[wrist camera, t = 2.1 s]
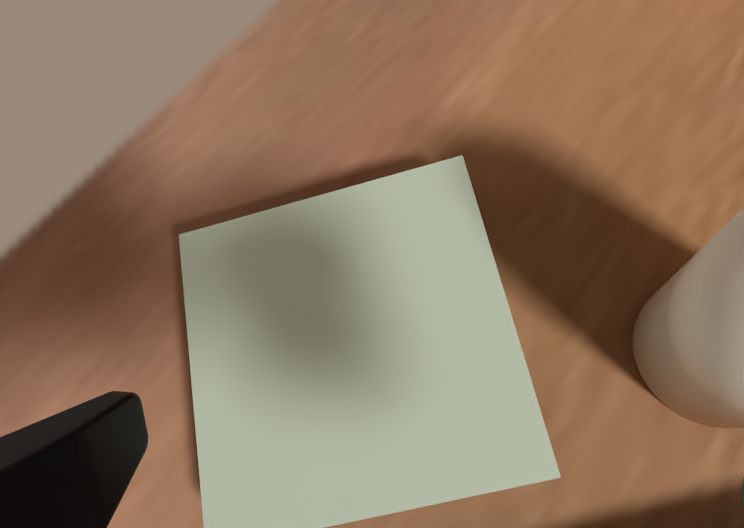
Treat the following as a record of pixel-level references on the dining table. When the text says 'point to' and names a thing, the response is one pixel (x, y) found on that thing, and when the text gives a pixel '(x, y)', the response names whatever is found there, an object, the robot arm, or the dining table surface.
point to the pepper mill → (699, 334)
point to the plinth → (356, 357)
